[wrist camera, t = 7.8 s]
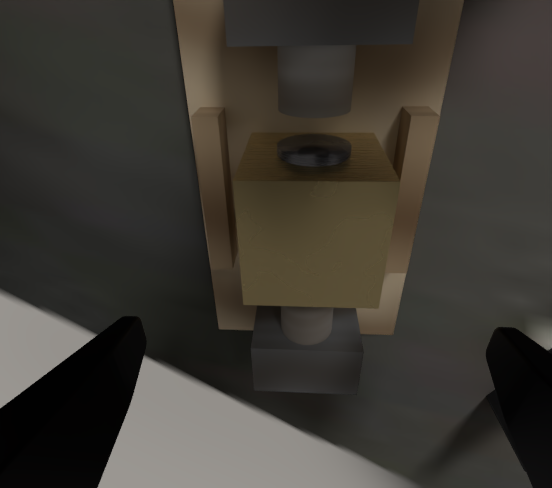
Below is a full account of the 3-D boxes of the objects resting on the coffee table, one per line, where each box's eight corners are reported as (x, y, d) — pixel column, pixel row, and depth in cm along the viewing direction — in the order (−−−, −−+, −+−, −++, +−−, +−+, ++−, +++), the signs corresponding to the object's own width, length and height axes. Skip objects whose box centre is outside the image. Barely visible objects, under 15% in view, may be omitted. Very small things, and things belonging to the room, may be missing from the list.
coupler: (374, 125, 15) (402, 172, 11) (360, 242, 18) (377, 314, 14) (251, 125, 15) (231, 171, 11) (257, 240, 18) (243, 310, 14)
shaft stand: (176, -62, 13) (110, -95, 9) (463, -72, 13) (553, -113, 8) (223, 311, 23) (203, 388, 19) (387, 316, 23) (409, 397, 18)
